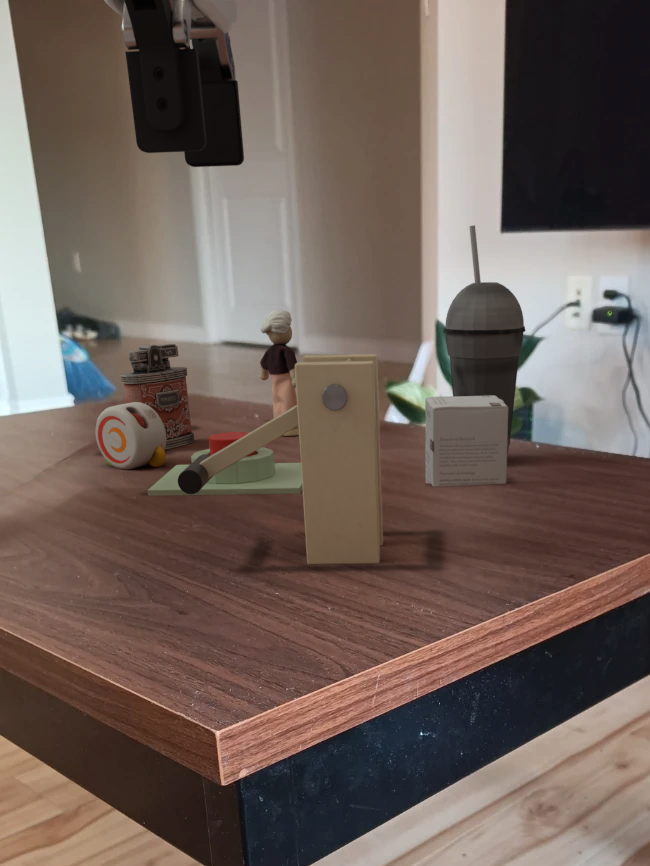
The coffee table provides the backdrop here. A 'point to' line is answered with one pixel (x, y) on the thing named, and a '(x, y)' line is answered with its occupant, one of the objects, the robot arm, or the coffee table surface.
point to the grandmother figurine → (280, 363)
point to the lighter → (161, 390)
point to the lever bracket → (340, 457)
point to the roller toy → (131, 436)
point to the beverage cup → (485, 339)
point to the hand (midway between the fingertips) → (195, 159)
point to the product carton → (466, 440)
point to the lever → (235, 451)
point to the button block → (239, 477)
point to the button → (224, 441)
